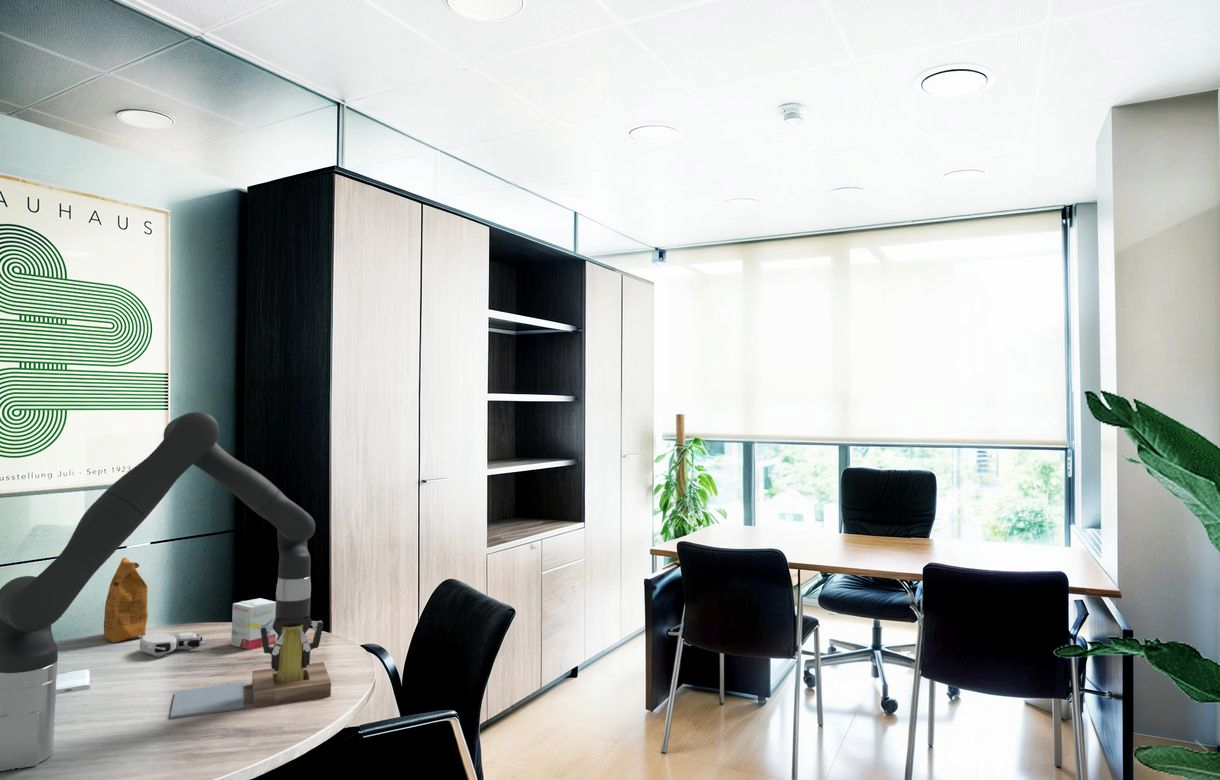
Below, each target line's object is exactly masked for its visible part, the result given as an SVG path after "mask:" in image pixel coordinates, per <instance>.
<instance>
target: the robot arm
mask: <svg viewBox="0 0 1220 780" xmlns="http://www.w3.org/2000/svg"><path fill="white" fill-rule="evenodd" d="M219 436H220V427H219V423H218V421H217V420H216V418H215V417H213V416H212V415H211V414H209V413H206V412H202V411H193V412H191V411H190V412H187V413H184V414H183V415H180V416H178V417H176V418H174V419H173V420H171V421H170V422H169V423H167V425H166V426H165V428H164V430H163V439H162V441H161V442H160V443H159V444H158V446H157V447H156V448H155V449H154V450H153V451H152V452H151V453H150V454H149V455H148V456H146V458H145V459H143V460H142V461H141V462H140V463H137V465H136V466H134V467H132V469H130V470H128V472H126V473H125V474H124V475H122V476H121V477H119V479H118V480H116V481H114V483H113V484H112V485H111V486H110V487H108V488H107V489H106V490H105V491H104V492H103V493H102V494H101V495H100V496H99V497H98V498H97V499H95V501H94V502H93V503H92V504H91V505H90V506H89V508H88V509H86V511H85V513H83V515H82V517H81V518H80V520H79V522H78V523H77V525H76V527H75V529H74V531H73V533H72V534H71V537H70V539H69V540H68V543H67V545H65V547H64V549H63V550H62V552H61V553H60V554H58V556H57V557H56V558H55V559H54V560H53V561H52V562H51V563H50V564H49V565H48V566H47V567H46V568H45V569H44V570H43V571H42V572H40V573H39V574H38V575H37V576H34V575H24V576H19V577H16V578H13V579H11V580H9V581H8V582H7V583H5V584H4V585H3V586H2V587H0V772H3V771H10V769H11V770H16V769H15V768H18V769H23V768H28V767H35V766H38V765H39V763H41V762H43V761H45V760H47V759H49V758H50V757H51V756H52V755H53V754H54V740H55V720H56V719H55V717H56V696H57V694H56V678H57V674H58V656H59V648H58V645H57V643H56V641H55V639H54V636H53V633H52V625H53V624H55V623H56V622H57V621H58V620H59V619H60V618H61V617H62V616H63V615H64V613H66V611H67V610H68V608H69V607H70V606H71V605H72V603H73V602H74V601H75V599H76V598H77V597H78V596H79V594H80V592H81V591H82V590H83V588H85V586H86V585H87V583H88V582H89V581H90V579H91V578H92V577H93V576H94V574H96V572H97V571H98V570H99V569H100V568H101V566H103V565H104V563H106V562H107V560H108V559H110V558H111V556H112V555H113V554H114V553H115V552H116V551H117V550H118V549H119V548H120V547H121V545H123V543H124V542H125V541H126V540H127V539H128V538H129V537H130V536H131V535H132V534H133V533H134V532H135V531H136V530H137V529H138V527H140V526H141V524H142V523H143V522H144V521H145V520H146V519H147V517H148V516H149V515H150V514H151V513H152V512H153V510H154V509H155V508H156V507H157V506H158V504H159V503H160V502H161V501H162V499H164V497H165V496H166V494H168V492H170V489H171V488H172V487H173V486H174V485H175V483H176V482H177V481H178V480H179V478H181V476H182V475H183V474H184V473H185V472H186V471H187V470H188V469H190V468H191V466H195V467H197V468H198V469H200V470H201V471H203V472H204V473H206V474H208V475H209V476H210V477H211V478H213V479H214V480H216V481H217V482H218V483H220V484H221V485H222V486H224V488H226V489H227V490H229V491H230V492H231V493H232V494H234V495H235V497H237V498H238V499H240V500H241V501H242V502H243V503H244V504H245V505H246V506H248V508H250V509H251V510H252V511H253V512H255V513H256V514H257V515H258V516H259V517H261V518H263V519H265V520H266V521H268V522H269V523H270V524H272V526H274V527H275V529H277V533H276V535H277V547H278V554H279V558H278V559H279V560H278V569H277V570H278V571H277V573H278V574H277V575H278V576H277V584H276V592H275V596H276V597H275V602H276V613H275V621H274V623H273V624H272V625H269V626H264V625H263V626H261V628H260V630H261V637H262V643H263V646H262V649H263V653H265V654H269V655H271V658H270V659H271V661H270V663H271V664H270V667H271V669H274V671H278V653H279V649H280V647H281V646H282V644H283V639H284V637H283V636H284V633H285V629H284V630H283V632H282V633H281V631H282V626H283V627H296V626H301V625H303V630H302V628H300V633H301V642H302V644H303V646H304V652H303V668H306V667H307V665H309V664H311V661H310V659H311V651H312V650H314V649H317V648H319V646H320V642H321V637H322V634H323V628H324V623H323V621H322V620H321V619H320V620H318V621H317V620H312V619H311V617H310V615H311V597H312V596H311V594H312V593H311V592H312V583H311V566H312V565H311V564H312V561H311V560H312V559H311V554H310V551H309V550H308V540H310V539H311V538H312V537H313V535H314V534H315V532H316V522H315V520H314V518H313V517H312V516H311V515H310V513H308V512H307V511H305V510H304V509H303V508H302V507H301V506H299V505H298V504H296V503H295V502H294V501H292V500H291V499H290V498H288V497H287V496H286V495H285V494H284V493H283V492H282V491H281V490H280V489H279V488H278V487H277V486H275V484H274V483H272V482H271V481H270V480H269V479H267V478H266V477H265V476H264V475H262V474H261V473H259V472H258V471H257V470H255V469H253V468H252V467H250V466H248V465H246V464H244V463H243V462H241V461H240V460H238V459H236V458H235V457H233V456H232V455H231V454H230V453H228V452H227V451H225V449H223V447H221V446H220V445H219V444H218V443H217V442H218V438H219ZM311 626H312V630H313V631H314V634H313V640H312V642H309V641H308V639H307V636H306V633H307V632H308V630H309V629H310V628H311ZM273 629H274V631H275V632H276V634H277V638H275V643H273V646H270V644H268V637H267V636H268V635H270V634H271V630H273ZM281 640H282V641H281Z"/></svg>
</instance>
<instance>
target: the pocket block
mask: <svg viewBox="0 0 1220 780" xmlns="http://www.w3.org/2000/svg"><path fill="white" fill-rule="evenodd" d="M251 677H252V679H251V680H252V681H251V682H252V683H251V686H252V699H253V707H254V708H257V707H262V706H271V705H277V704H283V703H292V702H298V701H305V700H311V699H317V698H319V699H320V698H327V697H331V694H332V692H331V691H332V682H331V678H330V675H329V674H328V671H327V667H326V665H325V662H323V661H322V662H315V663H313V662H311V663H309V665H307V667H306V668H303V681H295V682H287V683H280V684H276V682H277V671H274V669H272V668H264V669H257V670H252V676H251Z"/></svg>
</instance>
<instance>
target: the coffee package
mask: <svg viewBox="0 0 1220 780" xmlns="http://www.w3.org/2000/svg"><path fill="white" fill-rule="evenodd" d="M139 567H140V564H139V563H138V562H133V561H132V562H131V561H130V560H129V559H128V558H127V557H122V559H121V560H120V563H119V565H118V567H117V568H116V571H115V574H114V575H113V577H112V579H111V582H110V584H109V587H108V593H107V597H106V599H105V604H104V613H103V614H104V619H103V620H104V621H103V636H104V637H105V640H106V641H108V642H110V643H119V642H122V641H123V642H124V641H126V640H132V639H135V638H136V639H137V638H139V637H138V636H143V637H144V636H146V635H147V634H146V627H147V623H148V617H149V613H148V585H147V583H146V582H145V580H144V579H143V578H142V576H141V575H140V573H138V571H137V569H138V568H139Z"/></svg>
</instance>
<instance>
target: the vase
mask: <svg viewBox="0 0 1220 780" xmlns="http://www.w3.org/2000/svg"><path fill="white" fill-rule="evenodd" d="M300 628H302V630H303V625H301V626H296V627H283V626H282V631H281V633H282V632H283V630H284V629H285V633H284V636H283V637H284V639H283V644H282V646H281V647H280V649H279V651H278V671H277V682H276V684H280V683H287V682H295V681H303V652H304V646H303V644H302V642H301V633H300ZM281 641H282V640H281Z"/></svg>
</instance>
